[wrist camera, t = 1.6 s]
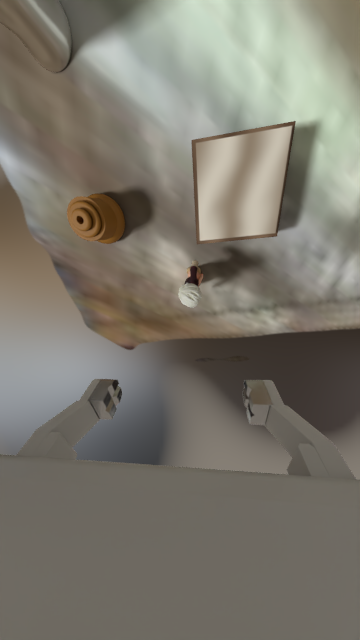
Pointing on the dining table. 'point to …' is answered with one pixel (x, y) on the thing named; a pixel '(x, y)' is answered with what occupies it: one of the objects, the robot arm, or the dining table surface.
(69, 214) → the ornamental finial
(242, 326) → the dining table surface
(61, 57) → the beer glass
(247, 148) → the plinth
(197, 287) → the grandmother figurine
